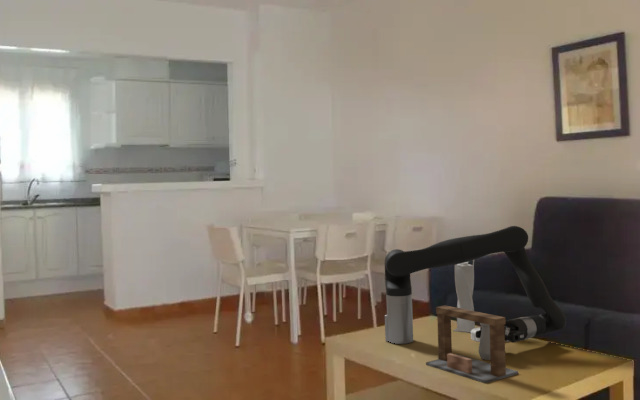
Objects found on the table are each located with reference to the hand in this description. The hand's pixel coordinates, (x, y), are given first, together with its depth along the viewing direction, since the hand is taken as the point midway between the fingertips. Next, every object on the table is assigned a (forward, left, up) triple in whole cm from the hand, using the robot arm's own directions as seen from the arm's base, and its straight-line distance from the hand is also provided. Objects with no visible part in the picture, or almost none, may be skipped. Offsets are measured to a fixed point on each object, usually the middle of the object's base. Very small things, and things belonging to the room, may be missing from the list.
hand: (486, 337), depth 219 cm
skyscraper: (-22, +32, -8) cm, 40 cm away
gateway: (0, -14, -7) cm, 15 cm away
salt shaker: (0, 0, -7) cm, 7 cm away
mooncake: (-10, +24, -8) cm, 27 cm away
